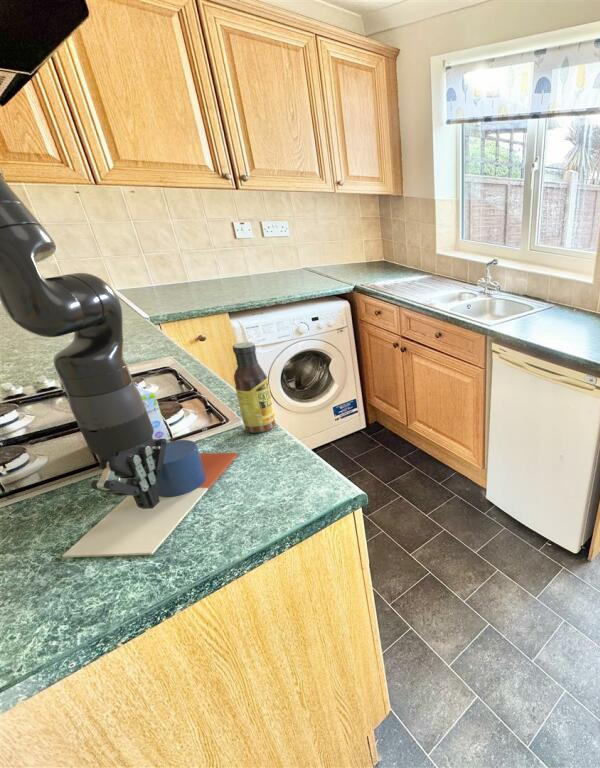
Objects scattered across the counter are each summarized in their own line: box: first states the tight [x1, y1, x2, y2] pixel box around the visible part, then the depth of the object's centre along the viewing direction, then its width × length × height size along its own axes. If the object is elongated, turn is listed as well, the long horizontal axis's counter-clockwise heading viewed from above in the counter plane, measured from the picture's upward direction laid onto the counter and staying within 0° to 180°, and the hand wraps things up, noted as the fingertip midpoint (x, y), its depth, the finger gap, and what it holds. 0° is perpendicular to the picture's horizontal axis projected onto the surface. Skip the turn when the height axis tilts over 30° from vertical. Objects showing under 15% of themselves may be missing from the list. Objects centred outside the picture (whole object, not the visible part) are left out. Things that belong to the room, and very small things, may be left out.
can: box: [153, 439, 206, 497], centre depth 75 cm, size 8×8×7 cm
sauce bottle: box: [232, 341, 276, 434], centre depth 92 cm, size 6×6×20 cm
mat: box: [61, 452, 238, 559], centre depth 73 cm, size 12×26×1 cm, turn 6°
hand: (150, 505), depth 69 cm, fingers closed
